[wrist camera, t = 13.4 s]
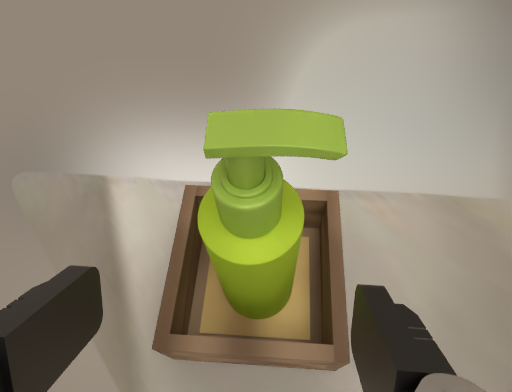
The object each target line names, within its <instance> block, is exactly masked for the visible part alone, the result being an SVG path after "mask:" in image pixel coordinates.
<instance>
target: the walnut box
mask: <svg viewBox="0 0 512 392" xmlns="http://www.w3.org/2000/svg"><path fill="white" fill-rule="evenodd" d="M210 188H211V186H195V185H185V190H184V195H183V200H182V205H181V210H180V214H179V219H178V224H177V229H176V234H175V239H174V244H173V248H172V253H171V258H170V263H169V268H168V273H167V278H166V282H165V287H164V292H163V297H162V302H161V307H160V312H159V316H158V321H157V326H156V331H155V336H154V341H153V346H152V349H153V350H155V351H157V352H160V353H162V354H164V355H166V356H168V357H170V358H172V359H180V360H194V361H208V362H222V363H236V364H250V365H264V366H278V367H292V368H306V369H320V370H333V371H335V370H337V369H339V368H341V367H343V366H345V365H347V364H348V363H350V356H349V341H348V326H347V311H346V295H345V280H344V265H343V250H342V235H341V219H340V204H339V191H326V190H300V189H295V191H296V192H297V194H298V195H299V197H300V199H301V201H302V204H303V208H304V225H303V231H302V236H301V242H300V248H299V253H298V259H297V264H296V270H295V275H294V281H293V286H292V292H291V296H290V299H289V301H288V303H287V304H286V306H285V307H284V308H283V309H282V310H281V311H280V312H279V313H277V314H276V315H274V316H272V317H270V318H266V319H250V318H247V317H244V316H242V315H240V314H239V313H237V312H236V311H235V310H234V309H233V308H232V307H231V305H230V304H229V302H228V300H227V298H226V295H225V293H224V290H223V288H222V285H221V283H220V281H219V278H218V276H217V273H216V271H215V269H214V266H213V264H212V261H211V259H210V257H209V254H208V252H207V249H206V247H205V245H204V242H203V240H202V237H201V235H200V232H199V228H198V210H199V206H200V203H201V201H202V199H203V197H204V196H205V194H206V193H207V191H208V190H209V189H210Z"/></svg>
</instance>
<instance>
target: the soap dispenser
mask: <svg viewBox="0 0 512 392" xmlns="http://www.w3.org/2000/svg"><path fill="white" fill-rule="evenodd" d="M204 153H205V156H206V158H223V159H221V161H219V163H218V164H217V165H216V166H215V168H214V170H213V173H212V176H211V188H210V189H209V190H208V191H207V193H206V194H205V196H204V197H203V199H202V201H201V203H200V206H199V210H198V228H199V232H200V235H201V237H202V240H203V242H204V245H205V247H206V249H207V252H208V254H209V257H210V259H211V261H212V264H213V266H214V269H215V271H216V273H217V276H218V278H219V281H220V283H221V285H222V288H223V290H224V293H225V295H226V298H227V300H228V302H229V304H230V305H231V307H232V308H233V309H234V310H235V311H236V312H237V313H239V314H240V315H242V316H244V317H247V318H250V319H266V318H270V317H272V316H274V315H276V314H277V313H279V312H280V311H281V310H282V309H283V308H284V307H285V306H286V304H287V303H288V301H289V299H290V296H291V292H292V286H293V281H294V275H295V270H296V264H297V259H298V253H299V248H300V242H301V236H302V231H303V225H304V208H303V204H302V201H301V199H300V197H299V195H298V194H297V192H296V191H295V189H294V188H293V187H292V186H291V185H290V184H289V183H288V182H286V181H285V180H283V174H282V171H281V168H280V166H279V165H278V163H277V162H276V161H275V160H274V159H273V158H272V157H271V156H299V157H312V158H321V159H328V160H337V159H339V158H342V157H343V156H345V155H347V144H346V137H345V129H344V122H343V119H342V118H341V117H338V116H334V115H329V114H324V113H319V112H312V111H304V110H293V109H251V110H237V111H236V110H235V111H221V112H210V113H209V115H208V122H207V129H206V136H205V143H204Z"/></svg>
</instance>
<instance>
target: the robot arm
mask: <svg viewBox="0 0 512 392" xmlns="http://www.w3.org/2000/svg"><path fill="white" fill-rule="evenodd" d="M102 317H103V307H102V296H101V285H100V274H99V271H98V269H97V268H96V267H88V266H69V267H67V268H66V269H64V270H63V271H61V272H60V273H59V274H57V275H56V276H55V277H53V278H52V279H50V280H49V281H47V282H45V283H43V284H40V285H38V286H36V287H34V288H32V289H30V290H29V291H27V292H26V293H25V294H23V295H22V296H20V297H19V298H18V300H14V301H13V302H12V303H10V304H9V305H7V307H6V308H3V309H2V310H0V392H47V390H48V389H49V388H50V387H51V386H52V385H53V384H54V382H55V381H56V380H57V379H58V378H59V376H60V375H61V374H62V373H63V371H65V369H66V368H67V367H68V366H69V365H70V363H71V362H72V361H73V360H74V359H75V358H76V356H77V355H78V354H79V353H80V351H82V349H83V348H84V347H85V346H86V345H87V343H88V342H89V341H90V340H91V339H92V338H93V336H94V335H95V334H96V333H97V331H98V330H99V328H100V325H101V322H102ZM351 347H352V353H353V357H354V360H355V364H356V367H357V371H358V375H359V378H360V382H361V385H362V389H363V392H486V391H484V390H483V389H482V388H480V387H479V386H477V385H476V384H474V383H472V382H470V381H468V380H466V379H464V378H461V377H458V376H457V375H456V373H455V372H454V370H453V369H452V367H451V366H450V364H449V363H448V361H447V359H446V358H445V356H444V355H443V353H442V352H441V350H440V349H439V347H438V346H437V344H436V343H435V341H433V338H432V336H431V335H430V333H429V332H428V330H426V327H425V326H424V324H423V323H422V321H421V320H420V318H419V317H418V315H417V314H415V313H414V312H413V311H411V310H410V309H409V308H407V307H406V306H405V305H404V304H394V302H393V300H392V299H391V297H390V295H389V293H388V292H387V290H386V288H385V287H384V286H375V285H360V284H358V285H357V287H356V291H355V300H354V309H353V318H352V328H351Z"/></svg>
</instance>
